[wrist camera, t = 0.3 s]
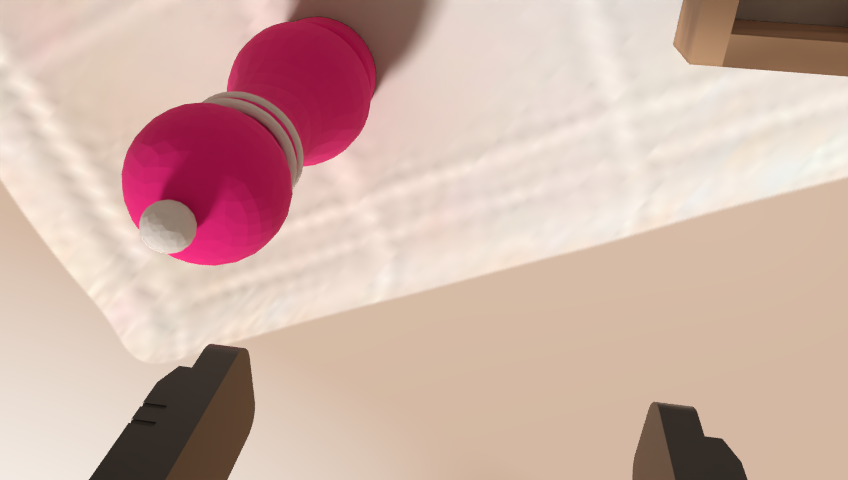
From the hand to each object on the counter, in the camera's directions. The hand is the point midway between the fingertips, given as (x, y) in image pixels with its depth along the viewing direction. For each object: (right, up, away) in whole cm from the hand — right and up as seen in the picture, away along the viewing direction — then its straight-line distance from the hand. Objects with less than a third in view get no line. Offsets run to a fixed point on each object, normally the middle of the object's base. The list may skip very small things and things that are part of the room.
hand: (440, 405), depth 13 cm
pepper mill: (-6, +13, +25) cm, 29 cm away
